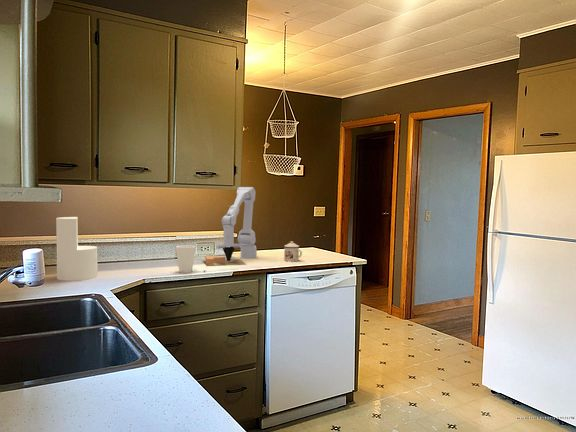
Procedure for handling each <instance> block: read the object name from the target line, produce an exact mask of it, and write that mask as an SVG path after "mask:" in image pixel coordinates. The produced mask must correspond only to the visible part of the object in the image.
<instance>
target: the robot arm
mask: <svg viewBox="0 0 576 432" xmlns="http://www.w3.org/2000/svg"><path fill="white" fill-rule="evenodd" d="M255 201H256V189H255V187H253V186H239V187H237V190H236V197H235V199H234V203H233V204H232V205H230V206H229V209H228V210H227V212H226V214H225V215H224V216H222V218H221V224H222V228H223V243H221V244H216V245H215V247H216V248H215V249H216V250H218V249H222V251H223V252H224V256H225V257H226V260H227V261H230V260H232V256H233V253H234V251H235V250H236V248H240V259H245V260H248V259H257V252H258V251H257V246H256V244H255V243H256V241H257V240H256V232H255V231H254V230H253V228H252V227H253V224H252V223H253V215H254V214H253V212H254V211H253V210H254V202H255ZM243 202H244V208H243V209H244V211H243V220H242V221H243V223H242V228H241V230H239V232H238V236H237V243H235V242H234V241H235V240H234V238H235V233H234V232H235V225H236V224H237V217H238V215H239V212H240V206H241V205H242V203H243Z"/></svg>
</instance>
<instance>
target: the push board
mask: <svg viewBox="0 0 576 432" xmlns="http://www.w3.org/2000/svg"><path fill="white" fill-rule="evenodd" d="M201 262H202V263H203V264H204V265H205V266H206V267H221V266H222V267H223V266H245V265H246V266H247V263H245V262H243V261H242V260H241V259H239V258H235V259H232V258H231V260H230V261H227V259H226V263H214V264H208V265H207V263H206V261H205V260H201Z"/></svg>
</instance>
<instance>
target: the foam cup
mask: <svg viewBox="0 0 576 432" xmlns="http://www.w3.org/2000/svg"><path fill="white" fill-rule="evenodd" d="M175 252H176V258H177V264H178V265H177V266H178V272H179V273H180V272H181V274H189V273H190V274H191V273H192V272H193V267H194V261H195V260H194V259H195V258H194V257H195V252H196V245H191V244H190V245H189V244H188V245H187V244H186V245H176V246H175Z"/></svg>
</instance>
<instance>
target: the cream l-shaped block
mask: <svg viewBox="0 0 576 432" xmlns="http://www.w3.org/2000/svg"><path fill="white" fill-rule="evenodd" d="M78 219H79V218H78V216H62V217H61V216H60V217H56V219H55V220H56V221H55V223H56V225H55V227H56V229H55V230H56V238H55V239H56V279H57V280H59V281H63V282H64V281H66V282H67V281H69V282H70V281H71V282H72V281H74V282H75V281H85V280H92V279H96V278H97V277H98V274H99V273H98V271H99V270H98V246H96V245H79V232H78V231H79V229H78V226H79V225H78V224H79V223H78V221H79V220H78Z"/></svg>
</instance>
